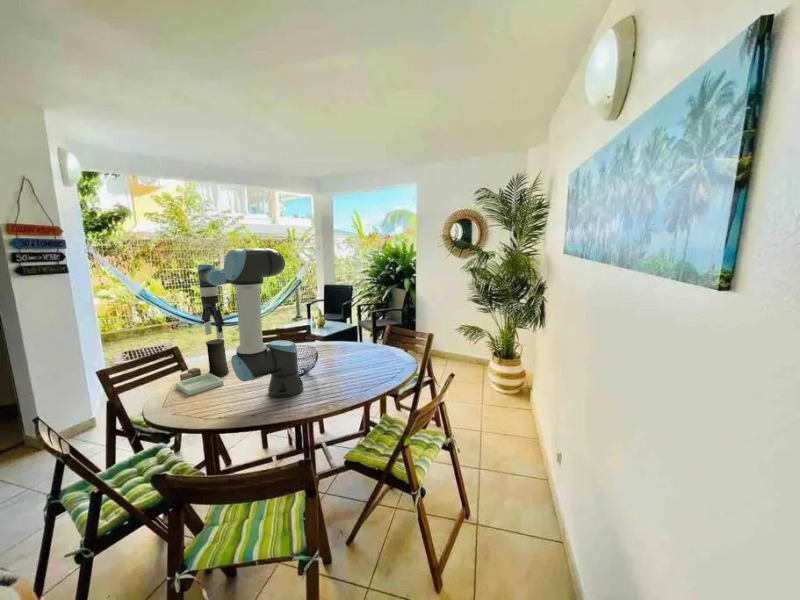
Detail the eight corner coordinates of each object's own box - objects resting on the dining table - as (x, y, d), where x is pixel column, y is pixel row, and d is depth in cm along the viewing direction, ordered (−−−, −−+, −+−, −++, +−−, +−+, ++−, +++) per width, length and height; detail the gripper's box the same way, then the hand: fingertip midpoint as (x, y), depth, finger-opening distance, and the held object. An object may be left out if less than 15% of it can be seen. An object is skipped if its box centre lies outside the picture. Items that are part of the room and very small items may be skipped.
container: (232, 371, 178) (228, 338, 175) (221, 378, 169) (218, 343, 166) (216, 370, 179) (212, 338, 176) (205, 377, 170) (201, 343, 167)
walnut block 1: (193, 381, 165) (192, 374, 165) (183, 384, 162) (182, 376, 162) (189, 379, 168) (188, 372, 167) (180, 382, 165) (179, 374, 164)
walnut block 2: (201, 376, 172) (200, 368, 172) (193, 379, 169) (192, 371, 168) (196, 375, 174) (195, 367, 173) (188, 377, 170) (187, 370, 170)
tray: (223, 384, 161) (223, 379, 160) (188, 396, 149) (188, 390, 149) (210, 377, 170) (209, 372, 170) (176, 387, 159) (176, 382, 158)
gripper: (228, 296, 162) (233, 338, 165) (207, 292, 177) (211, 331, 181) (212, 298, 156) (217, 342, 160) (191, 294, 171) (196, 334, 175)
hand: (214, 336), depth 170 cm, fingers open, 13 cm apart
